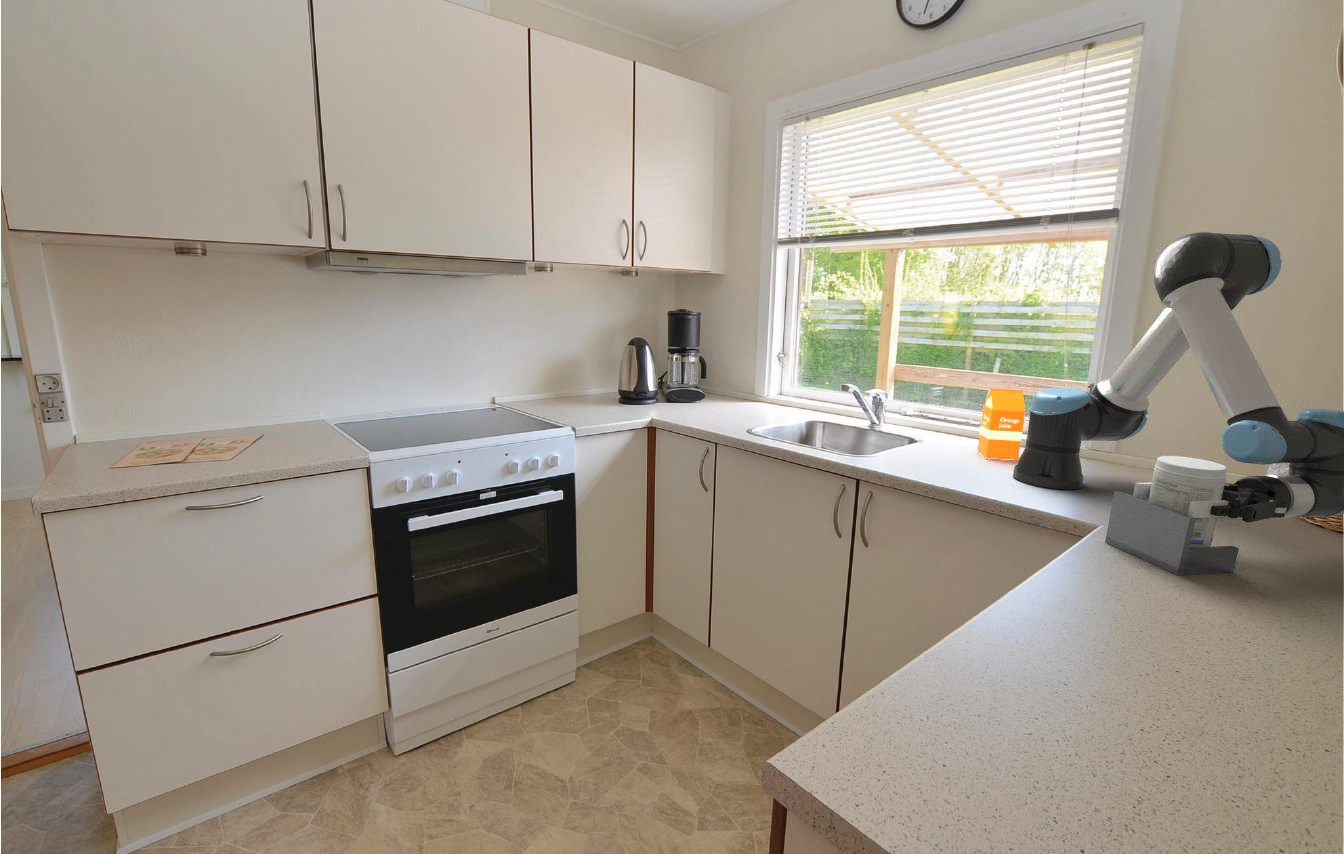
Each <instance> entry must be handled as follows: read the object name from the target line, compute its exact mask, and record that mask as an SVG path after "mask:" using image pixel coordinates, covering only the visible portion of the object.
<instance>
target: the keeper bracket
mask: <svg viewBox="0 0 1344 854" xmlns="http://www.w3.org/2000/svg"><path fill="white" fill-rule="evenodd" d="M1195 520H1196V518H1195V517H1192V516H1189V515H1186V514H1183V513H1181V512H1178V511H1175V510H1172V509H1169V508H1166V507H1164V506H1161V505H1158V504H1155V503H1152V502H1149V501H1148V499H1147V500H1146V499H1145V498H1138V497H1135V496H1133V494H1130V493H1127V492H1124V491H1120V490H1119V491H1115V490H1114V493H1113V498H1112V504H1111V507H1110V514H1109V519H1108V523H1107V524H1108V526H1107V530H1106V536H1105V540H1104V542H1105V543H1106V544H1107V545H1110V546H1112V547H1115V548H1117V549H1119V550H1121V551H1124V552H1125V553H1127V554H1130V555H1132V556H1134V557H1136V558H1138V559H1141V560H1142V561H1145V562H1147V563H1149V564H1151V565H1153V566H1155V567H1158V568H1161V569H1162V570H1165V571H1166V572H1169V573H1171V574H1173V575H1175V576H1191V575H1192V576H1193V575H1194V576H1195V575H1211V574H1213V575H1214V574H1233V573H1234V571H1235V566H1236V563H1237V560H1238V559H1237V558H1238V555H1239V550H1240V547H1237V546H1234V545H1223V546H1222V545H1221V546H1220V545H1217V546H1210V547H1191V548H1189V547H1190V543H1191V538H1192V534H1193V529H1194V525H1195Z"/></svg>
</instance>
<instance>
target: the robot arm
mask: <svg viewBox="0 0 1344 854" xmlns="http://www.w3.org/2000/svg"><path fill="white" fill-rule="evenodd" d="M1282 262H1283V261H1282V259H1281V252H1280V248H1278V246H1277V244H1275V243H1274V242H1273V241H1272V240H1270V239H1268V238H1267V237H1263V236H1258V235H1253V234H1250V233H1241V234H1237V233H1236V234H1235V233H1221V232H1220V233H1218V232H1217V233H1215V232H1209V231H1208V232H1207V231H1200V232H1199V231H1198V232H1192V233H1188V234H1185V235H1182V236H1181V237H1178V238H1176V239H1175V240H1173V241H1172V242H1171V243H1169V244H1168V245H1167V246H1165V247H1164V249H1163V250H1162V251H1161V253H1160V254H1159V255H1158V257H1157V259H1156V262H1155V265H1154V269H1153V281H1154V286H1155V291H1156V293H1157V296H1158V298H1159V300H1160V301H1161V304H1162V306H1163V308H1164V309H1163V310H1162V312H1161V313H1160V314H1159V315H1158V317H1157V318H1156V320H1154V322H1153V323H1152V325H1151V326H1149V328H1148V330H1147V331H1146V332H1145V334H1144V335H1143V336H1142V337H1141V339H1140V340H1139V341H1138V343H1137V344H1136V345H1135V346H1134V348H1132V350H1131V351H1130V352H1129V353H1128V356H1127V357H1126V358H1125V359H1124V361H1122V363H1121V364H1120V366H1119V367H1118V368H1117V370H1116V371H1115V372H1114V373H1113V374H1112V376H1111V377H1110V378H1106V379H1102V380H1099V382H1098V383H1097V384H1096V385H1095V387H1094V388H1092V390H1091V392H1089V391H1087V390H1085V389H1082V388H1081V389H1080V388H1074V387H1073V388H1072V387H1063V388H1062V387H1053V388H1052V387H1051V388H1045V389H1041V390H1039V391H1037V392H1036V393H1034V395H1033V397H1032V402H1031V405H1030V407H1029V408H1030V409H1029V410H1030V412H1029V418H1028V427H1027V433H1026V441H1025V444H1024V445H1025V446H1024V448H1023V452H1022V453H1021V455H1020V457H1019V458H1018V461H1017V464H1015V465H1014V467H1013V473H1012V477H1013V476H1014V477H1015V478H1017V479H1018V481H1019V480H1021V481H1020V482H1022V483H1025V482H1026V483H1025V484H1028V483H1030V484H1029V485H1032V484H1033V485H1032V486H1036V485H1037V486H1036V487H1042V488H1046V487H1047V488H1048V489H1054V490H1055V489H1056V490H1078V489H1081V488H1083V486H1084V480H1085V478H1084V475H1083V471H1082V464H1081V458H1080V452H1081V447H1082V442H1085V441H1086V442H1087V441H1095V442H1098V441H1100V442H1102V441H1106V442H1107V441H1108V442H1116V441H1117V442H1118V441H1123V440H1127V439H1131V438H1132V437H1134V436H1137V435H1138V434H1139V433H1140V432H1142V430H1143V428H1145V426H1146V424H1147V422H1148V418H1147V415H1148V408H1149V405H1150V401H1149V399H1148V397H1149V396H1150V394H1152V392H1153V391H1154V390H1155V389H1156V387H1157V386H1158V385H1159V384H1160V383H1161V381H1163V379H1164V378H1165V377H1166V376H1167V375H1168V374H1169V372H1170V371H1171V370H1172V369H1173V368H1174V367H1175V365H1176V364H1177V363H1178V362H1179V361H1180V359H1182V357H1183V356H1184V355H1185V354H1186V352H1188V351H1189V349H1191V352H1192V353H1193V355H1194V357H1195V359H1196V361H1197V363H1198V365H1199V368H1200V369H1201V372H1202V374H1203V376H1204V378H1205V380H1206V382H1207V384H1208V386H1209V388H1210V391H1211V392H1212V394H1213V396H1214V398H1215V401H1216V403H1217V405H1218V407H1219V408H1220V411H1221V413H1222V415H1223V417H1224V420H1225V422H1226V423H1227V425H1228V426H1227V427H1226V428H1225V430H1224V431H1223V433H1222V436H1221V437H1222V438H1221V441H1222V442H1221V447H1222V449H1223V451H1224V452H1225V454H1226V455H1227V456H1228V457H1229V458H1231V459H1233V460H1234V461H1236V462H1238V463H1244V464H1253V465H1260V466H1261V465H1263V466H1264V465H1273V464H1288V473H1287V474H1274V475H1273V474H1269V475H1249V476H1248V475H1247V476H1244V477H1242V478H1240V479H1238V480H1237V481H1235V482H1234V483H1229V482H1228V483H1227V482H1225V485H1224V490H1223V494H1222V499H1221V500H1213V501H1212V500H1208V501H1191V502H1190V506H1189V511H1188V515H1189V516H1192V517H1195V518H1208V517H1217V518H1225V517H1227V518H1230V519H1237V518H1242V519H1241V521H1243V522H1245V523H1255V522H1259V521H1264V520H1268V519H1275V520H1281V519H1282V518H1293V517H1294V518H1295V517H1297V518H1299V517H1300V518H1301V517H1319V518H1328V517H1334V516H1335V517H1336V516H1340V515H1344V410H1340V409H1330V408H1328V409H1327V408H1304V409H1301V410H1300V411H1299V412H1298V415H1297V418H1296V419H1295V420H1289V419H1288V417H1287V415H1286V414H1285V412H1284V411H1283V408H1282V407H1281V404H1280V402H1279V401H1278V399H1277V397H1276V395H1275V393H1274V391H1273V389H1272V387H1271V385H1270V384H1269V381H1268V379H1267V378H1266V375H1265V374H1264V372H1263V369H1262V368H1261V366H1260V364H1259V362H1258V359H1256V357H1255V355H1254V353H1253V351H1252V349H1251V346H1250V345H1249V343H1248V341H1247V339H1246V337H1245V335H1244V333H1243V331H1242V330H1241V328H1240V326H1239V324H1238V321H1237V320H1236V318H1235V316H1234V314H1233V312H1232V311H1233V310H1234V309H1235V308H1236V307H1237V306H1238V305H1239V304H1240V303H1241V301H1242V300H1243V299H1244V298H1245V297H1246V296H1251V295H1254V294H1257V293H1260V292H1262V291H1264V290H1266V289H1268V288H1270V286H1271V285H1272V284H1273V283H1274V282H1275V280H1276V279H1277V278H1278V276H1279V274H1280V273H1281V269H1282ZM1014 477H1013V478H1014ZM1015 478H1014V479H1015ZM1017 479H1016V480H1017ZM1151 483H1152V481H1151V482H1134V487H1133V493H1132V496H1135V497H1138V498H1141V499H1149V494H1150V489H1151Z"/></svg>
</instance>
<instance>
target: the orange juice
mask: <svg viewBox="0 0 1344 854" xmlns="http://www.w3.org/2000/svg"><path fill="white" fill-rule="evenodd" d="M1025 416H1026V407H1025V401H1024V390H1020V389H1017V390H1016V389H1001V388H999V389H997V388H990V390H989V393H988V395H987V397H986V399H985V402H984V404H983V409H982V415H981V423H980V429H979V435H978V436H979V438H978V445H977V451H978V452H979V453H981V454H982V455H983V456H984V457H987V458H997V459H1014V460H1018V461H1019V458H1020V457H1019V456H1020V455H1019V454H1020V450H1021V443H1022V438H1023V429H1024V423H1025Z"/></svg>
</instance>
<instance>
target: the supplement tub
mask: <svg viewBox="0 0 1344 854" xmlns="http://www.w3.org/2000/svg"><path fill="white" fill-rule="evenodd" d="M1227 470H1228V468H1227V466H1226V465H1224V464H1221V463H1218V462H1215V461H1211V460H1208V459H1207V460H1206V459H1201V458H1196V457H1195V458H1194V457H1189V456H1180V455H1161V456H1158V457H1157V458H1156V463H1155V465H1154V469H1153V473H1152V479H1151V482H1152V483H1151V489H1150V494H1149V498H1147V501H1149V502H1152V503H1155V504H1158V505H1161V506H1164V507H1166V508H1169V509H1172V510H1175V511H1178V512H1181V513H1183V514H1186V515H1188V511H1189V506H1190V502H1191V501H1208V500H1212V501H1213V500H1221V499H1222V494H1223V490H1224V485H1225V484H1226V480H1227V479H1226V478H1227ZM1217 520H1218V517H1208V518H1196V520H1195V525H1194V529H1193V534H1192V538H1191V543H1190V547H1189V548H1191V547H1212V543H1213V539H1214V534H1215V529H1216V524H1217V522H1218V521H1217Z"/></svg>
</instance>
